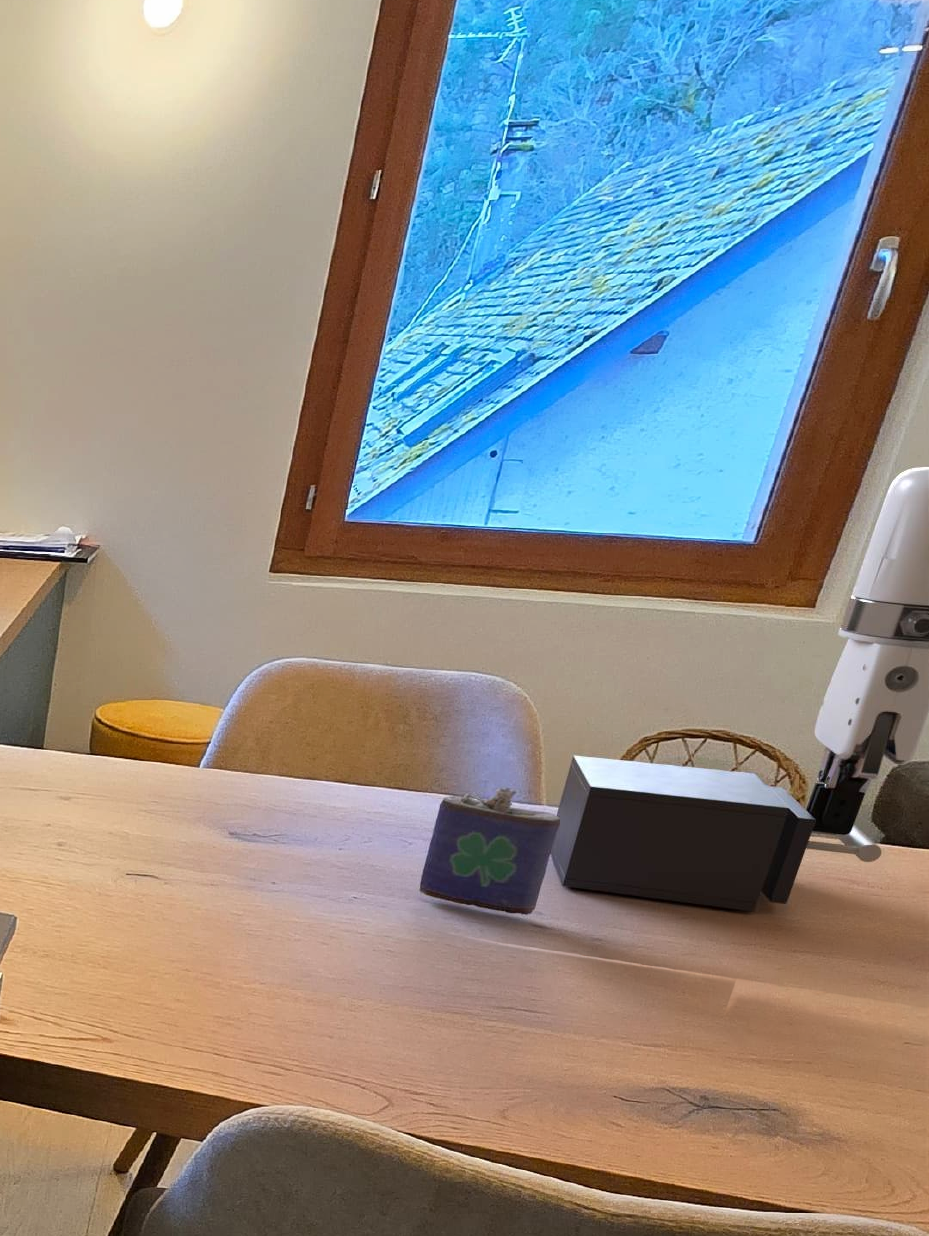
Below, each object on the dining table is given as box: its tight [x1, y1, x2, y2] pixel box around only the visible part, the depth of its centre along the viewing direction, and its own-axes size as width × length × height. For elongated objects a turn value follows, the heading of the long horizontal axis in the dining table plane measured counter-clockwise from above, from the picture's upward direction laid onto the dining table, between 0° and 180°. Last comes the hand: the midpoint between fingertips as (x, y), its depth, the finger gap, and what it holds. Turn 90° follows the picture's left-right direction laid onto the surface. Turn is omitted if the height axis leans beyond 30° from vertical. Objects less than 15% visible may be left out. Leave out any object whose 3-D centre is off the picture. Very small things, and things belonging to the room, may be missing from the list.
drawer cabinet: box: [550, 755, 789, 912], centre depth 128 cm, size 15×13×10 cm
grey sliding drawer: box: [761, 785, 882, 905], centre depth 126 cm, size 19×11×8 cm, turn 64°
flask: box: [418, 787, 560, 916], centre depth 121 cm, size 9×3×11 cm, turn 52°
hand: (824, 829), depth 122 cm, fingers closed
